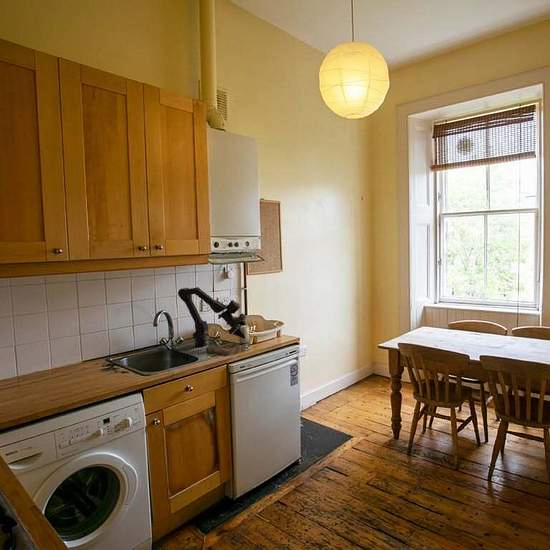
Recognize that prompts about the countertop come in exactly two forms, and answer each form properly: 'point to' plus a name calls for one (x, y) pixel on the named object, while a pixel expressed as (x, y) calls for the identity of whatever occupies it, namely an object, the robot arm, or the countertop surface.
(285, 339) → the countertop surface
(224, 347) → the walnut board
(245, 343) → the cream leg
